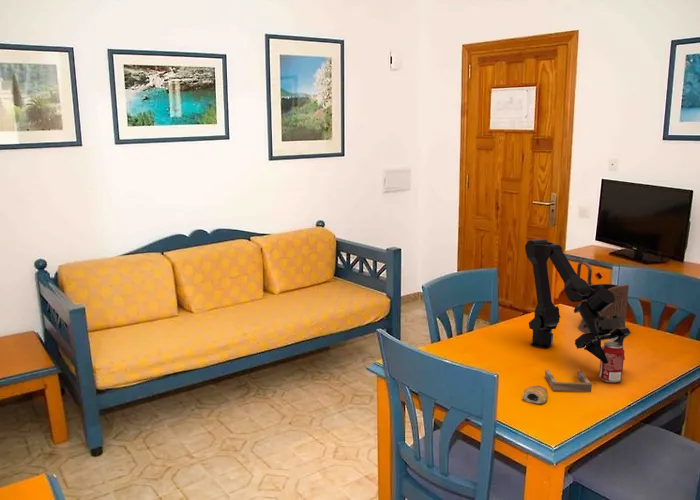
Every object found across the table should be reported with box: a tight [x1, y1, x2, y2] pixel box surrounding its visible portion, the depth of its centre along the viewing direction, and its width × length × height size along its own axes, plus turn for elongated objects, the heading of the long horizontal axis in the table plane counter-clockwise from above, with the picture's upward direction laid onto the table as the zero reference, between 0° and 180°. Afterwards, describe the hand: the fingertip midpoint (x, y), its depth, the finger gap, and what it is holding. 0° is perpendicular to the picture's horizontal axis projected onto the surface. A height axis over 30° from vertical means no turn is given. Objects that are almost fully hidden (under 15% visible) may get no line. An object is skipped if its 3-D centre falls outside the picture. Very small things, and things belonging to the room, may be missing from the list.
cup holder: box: [576, 261, 630, 337], centre depth 242 cm, size 18×24×25 cm
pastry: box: [521, 384, 549, 405], centre depth 184 cm, size 9×7×4 cm
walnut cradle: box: [544, 369, 593, 393], centre depth 193 cm, size 11×11×2 cm
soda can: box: [598, 340, 625, 384], centre depth 195 cm, size 7×7×12 cm
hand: (615, 361), depth 194 cm, fingers closed on soda can, 6 cm apart
